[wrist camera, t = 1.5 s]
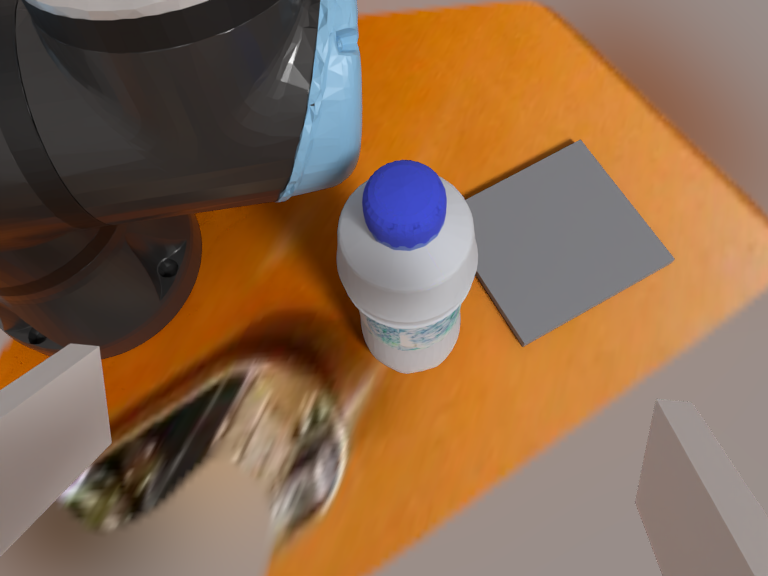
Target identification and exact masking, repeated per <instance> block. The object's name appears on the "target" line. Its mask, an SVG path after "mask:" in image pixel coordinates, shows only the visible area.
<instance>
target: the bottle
mask: <svg viewBox="0 0 768 576" xmlns="http://www.w3.org/2000/svg"><path fill="white" fill-rule="evenodd" d="M337 234H338V248H337V268H338V273H339V277H340V280H341V282H342V284H343V286H344V288H345V290H346V292H347V294H348V296H349V297H350V299H351V300H352V302H353V303H354V305H355V306H356V307H357V308H358V309H359V312H360V315H361V327H362V333H363V336H364V339H365V342H366V344H367V346H368V348H369V350H370V352H371V353H372V354H373V355H374V357H375V358H376V359H378V360H379V361H380V362H382V363H383V364H384V365H386V366H388V367H390V368H392V369H394V370H396V371H398V372H400V373H407V374H409V373H414V372H419V371H424V370H427V369H430V368H434V367H436V366H438V365H439V364H441V363H442V362H443V361H444V360H445V359H446V357H447V356H448V355H449V353H450V352H451V351H452V349H453V347H454V345H455V343H456V341H457V338H458V335H459V329H460V308H461V303H462V302H463V300H464V299H465V298H466V296H467V294H468V292H469V290H470V287H471V284H472V282H473V279H474V277H475V274H476V271H477V265H478V249H477V244H476V239H475V232H474V223H473V217H472V213H471V211H470V209H469V206H468V204H467V203H466V201H465V199H464V197H463V196H462V195H461V193H460V192H459V191H458V190H457V189H456V188H455V187H454V186H453V185H452V184H450V183H449V182H447V181H446V180H444V179H443V178H441V177H439V176H438V175H437V174H436V173H435V172H434V171H433V170H432V169H431V168H429V167H428V166H426V165H424V164H421V163H419V162H415V161H411V160H400V161H394V162H392V163H387V164H386V165H384V166H382V167H380V168H379V169H378V170H377V171H375V172H374V174H373V175H372V176H371V177H370V178H369V180H367V181H366V182H365V183H363V184H362V185H360V186H359V187H358V188H357V189H356V190H355V191H354V192H353V193H352V194H351V196H350V197H349V199H348V200H347V202H346V203H345V205H344V207H343V209H342V212H341V215H340V218H339V223H338V230H337Z"/></svg>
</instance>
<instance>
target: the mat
mask: <svg viewBox="0 0 768 576" xmlns="http://www.w3.org/2000/svg"><path fill="white" fill-rule="evenodd" d="M465 201H466V203H467V204H468V206H469V209H470V211H471V213H472V217H473V223H474V232H475V239H476V244H477V249H478V265H477V271H476V274H475V275H476V276H477V278H478V279H479V281H480V282H481V284H482V285H483V287H484V288H485V290H486V291H487V293H488V294H489V296H490V298H491V299H492V301H493V302H494V304H495V305H496V307H497V308H498V310H499V311H500V313H501V314H502V316H503V317H504V319H505V321H506V322H507V324H508V325H509V327H510V328H511V330H512V331H513V333H514V334H515V336H516V337H517V339H518V340H519V342H520V344H521V345H522V347H524V346H525V345H527V344H529V343H531V342H532V341H534V340H536V339H538V338H540V337H541V336H543V335H545V334H547V333H548V332H550V331H552V330H554V329H555V328H557V327H559V326H561V325H563V324H564V323H566V322H568V321H570V320H571V319H573V318H575V317H577V316H578V315H580V314H582V313H584V312H586V311H587V310H589V309H591V308H593V307H594V306H596V305H598V304H600V303H602V302H603V301H605V300H607V299H609V298H610V297H612V296H614V295H616V294H617V293H619V292H621V291H623V290H625V289H626V288H628V287H630V286H632V285H633V284H635V283H637V282H639V281H641V280H642V279H644V278H646V277H648V276H649V275H651V274H653V273H655V272H656V271H658V270H660V269H662V268H664V267H665V266H667V265H669V264H671V263H672V262H673V261H674V260H675V259H674V258H673V256H672V255H671V254H670V252H669V251H668V250H667V249H666V247H665V246H664V245H663V244H662V242H661V241H660V240H659V239H658V237H657V236H656V235H655V233H654V232H653V231H652V230H651V228H650V227H649V226H648V225H647V223H646V222H645V221H644V220H643V218H642V217H641V216H640V214H639V213H638V212H637V211H636V209H635V208H634V207H633V206H632V204H631V203H630V202H629V200H628V199H627V198H626V197H625V195H624V194H623V193H622V192H621V190H620V189H619V188H618V187H617V185H616V184H615V183H614V181H613V180H612V179H611V178H610V176H609V175H608V174H607V173H606V171H605V170H604V169H603V168H602V166H601V165H600V164H599V162H598V161H597V160H596V159H595V157H594V156H593V155H592V154H591V152H590V151H589V150H588V149H587V147H586V146H585V145H584V143H583V142H582V141H581V140H579V141H577V142H575V143H573V144H571V145H569V146H567V147H565V148H563V149H562V150H560V151H558V152H556V153H554V154H552V155H550V156H548V157H546V158H544V159H542V160H541V161H539V162H537V163H535V164H533V165H531V166H529V167H527V168H525V169H523V170H521V171H520V172H518V173H516V174H514V175H512V176H510V177H508V178H506V179H504V180H502V181H501V182H499V183H497V184H495V185H493V186H491V187H489V188H487V189H485V190H483V191H481V192H480V193H478V194H476V195H474V196H472V197H470V198H468V199H466V200H465Z"/></svg>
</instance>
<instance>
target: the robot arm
mask: <svg viewBox="0 0 768 576" xmlns="http://www.w3.org/2000/svg"><path fill="white" fill-rule="evenodd" d="M357 21H358V10H357V0H0V328H1V329H2V330H3V331H4V332H5V333H6V334H8V335H9V336H10V337H12V338H13V339H14V340H16V341H17V342H19V343H21V344H23V345H25V346H27V347H29V348H31V349H34V350H36V351H38V352H41V353H43V354H45V355H48V356H51V357H49V358H48V359H46V360H45V361H43V362H42V363H40V364H39V365H37V366H36V367H34V368H33V369H31V370H30V371H28V372H27V373H25V374H24V375H22V376H21V377H20V378H18V379H17V380H15V381H14V382H12V383H11V384H9V385H8V386H6V387H5V388H3V389H2V390H0V556H1V555H2V554H3V553H4V552H5V551H6V550H7V549H8V548H9V547H10V546H11V545H12V544H13V543H14V542H15V541H16V540H17V539H18V538H19V537H20V536H21V535H22V534H23V533H24V532H25V531H26V530H27V529H28V528H29V527H30V526H31V525H32V524H33V523H34V522H35V521H36V520H37V518H39V517H40V516H41V515H42V514H43V513H44V511H45V510H46V509H47V508H48V507H49V506H50V505H51V504H52V503H53V502H54V501H55V500H56V499H57V498H58V497H59V496H60V495H61V494H62V493H63V492H64V491H65V490H66V489H67V488H68V487H69V486H70V485H71V484H72V483H73V482H74V481H75V480H76V479H77V478H78V477H79V476H80V475H81V474H82V473H83V472H84V471H85V470H86V469H87V468H88V467H89V465H90V464H91V463H92V462H93V461H94V460H95V459H96V458H97V457H98V456H99V455H100V454H101V453H102V452H103V451H104V450H105V449H106V448H107V447H108V446H109V445H110V444H111V443H112V442H111V434H110V426H109V419H108V411H107V403H106V395H105V387H104V379H103V372H102V364H101V359H105V358H109V357H112V356H116V355H119V354H121V353H124V352H126V351H129V350H131V349H133V348H135V347H137V346H139V345H140V344H142V343H144V342H145V341H147V340H149V339H150V338H151V337H153V336H154V335H155V334H157V333H158V332H159V331H160V330H161V329H163V328H164V327H165V326H166V325H167V324H168V323H169V322H170V321H171V320H172V319H173V318H174V316H175V315H176V314H177V313H178V311H179V310H180V309H181V307H182V306H183V305H184V303H185V301H186V300H187V298H188V296H189V295H190V293H191V291H192V289H193V286H194V284H195V281H196V278H197V275H198V272H199V268H200V263H201V254H202V241H201V233H200V228H199V224H198V221H197V218H196V216H195V214H194V213H199V212H206V211H213V210H220V209H226V208H233V207H240V206H247V205H254V204H260V203H267V202H274V201H275V202H282V201H286V200H288V199H289V198H290V197H291V196H296V195H300V194H304V193H309V192H313V191H318V190H322V189H326V188H331V187H334V186H336V185H338V184H340V183H342V181H344V180H345V179H347V178H348V177H349V176H350V175H351V173H352V172H353V170H354V169H355V167H356V164H357V162H358V158H359V154H360V147H361V135H362V77H361V60H360V52H359V47H358V45H357V41H358V26H357ZM635 504H636V506H637V509H638V512H639V514H640V517H641V519H642V522H643V525H644V528H645V530H646V533H647V535H648V538H649V541H650V544H651V546H652V549H653V551H654V554H655V557H656V560H657V562H658V565H659V568H660V570H661V573H662V576H768V516H767V514H766V513H765V511H764V510H763V508H762V507H761V505H760V504H759V502H758V501H757V499H756V498H755V497H754V495H753V493H752V492H751V490H750V489H749V487H748V486H747V484H746V483H745V481H744V480H743V478H742V477H741V475H740V474H739V472H738V471H737V469H736V468H735V466H734V465H733V463H732V462H731V460H730V458H729V457H728V455H727V454H726V452H725V451H724V449H723V448H722V447H721V445H720V444H719V442H718V440H717V439H716V437H715V436H714V434H713V433H712V431H711V430H710V428H709V427H708V425H707V424H706V422H705V421H704V419H703V418H702V416H701V415H700V413H699V412H698V410H697V409H696V407H695V406H694V404H693V403H692V402H684V401H674V400H663V399H656V401H655V406H654V411H653V416H652V421H651V426H650V431H649V436H648V441H647V445H646V450H645V455H644V460H643V465H642V470H641V475H640V480H639V485H638V490H637V495H636V500H635Z"/></svg>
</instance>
